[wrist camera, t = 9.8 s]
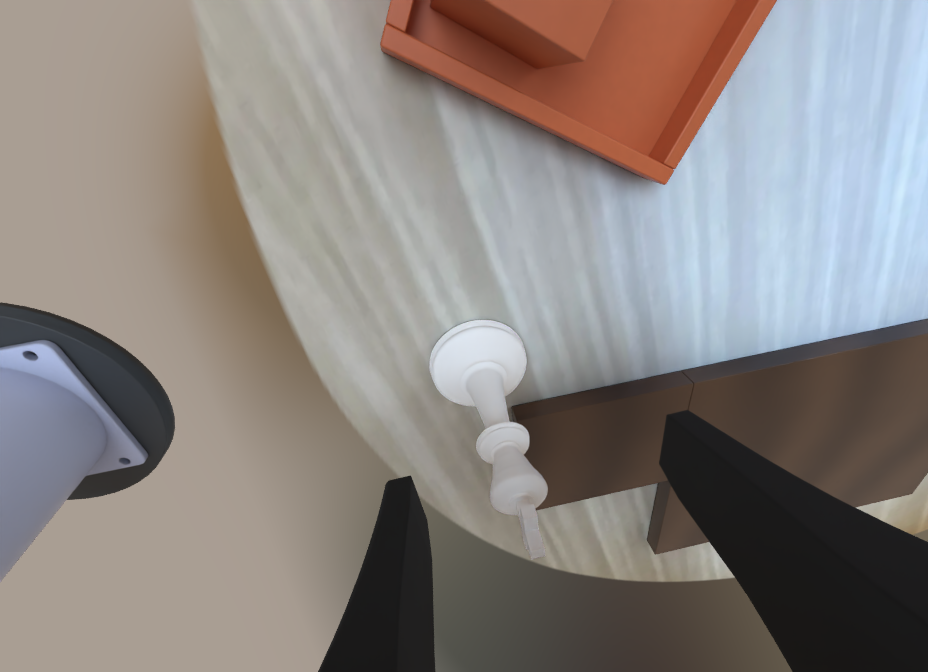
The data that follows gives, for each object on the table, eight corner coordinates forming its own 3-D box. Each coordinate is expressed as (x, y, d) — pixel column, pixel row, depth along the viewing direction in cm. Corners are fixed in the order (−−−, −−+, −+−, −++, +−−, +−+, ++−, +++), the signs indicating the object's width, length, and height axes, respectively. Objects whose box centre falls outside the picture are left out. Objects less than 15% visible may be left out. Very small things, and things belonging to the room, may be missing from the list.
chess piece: (438, 407, 21) (466, 611, 13) (421, 329, 19) (443, 523, 10) (526, 389, 22) (611, 577, 13) (522, 310, 19) (625, 483, 11)
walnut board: (526, 568, 32) (531, 584, 31) (511, 406, 22) (516, 420, 21) (896, 482, 33) (912, 494, 32) (1026, 297, 24) (1054, 306, 23)
